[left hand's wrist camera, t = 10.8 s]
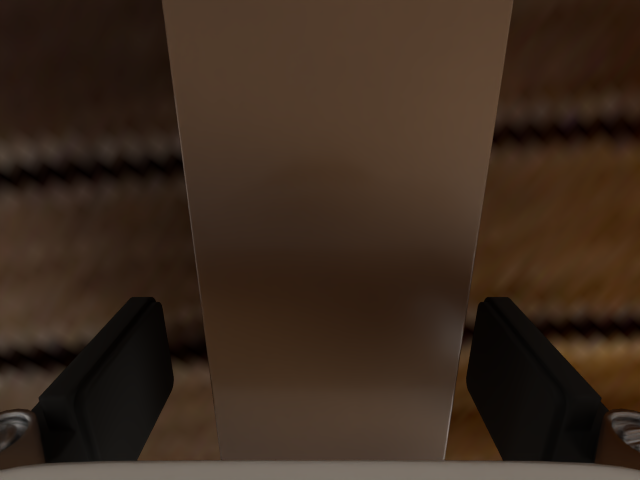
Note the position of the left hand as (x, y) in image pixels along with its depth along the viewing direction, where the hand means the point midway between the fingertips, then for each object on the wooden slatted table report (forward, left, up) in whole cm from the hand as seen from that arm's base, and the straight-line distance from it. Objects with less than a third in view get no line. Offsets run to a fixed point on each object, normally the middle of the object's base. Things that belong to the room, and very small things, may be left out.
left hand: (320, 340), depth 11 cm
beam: (+21, +4, -5) cm, 22 cm away
